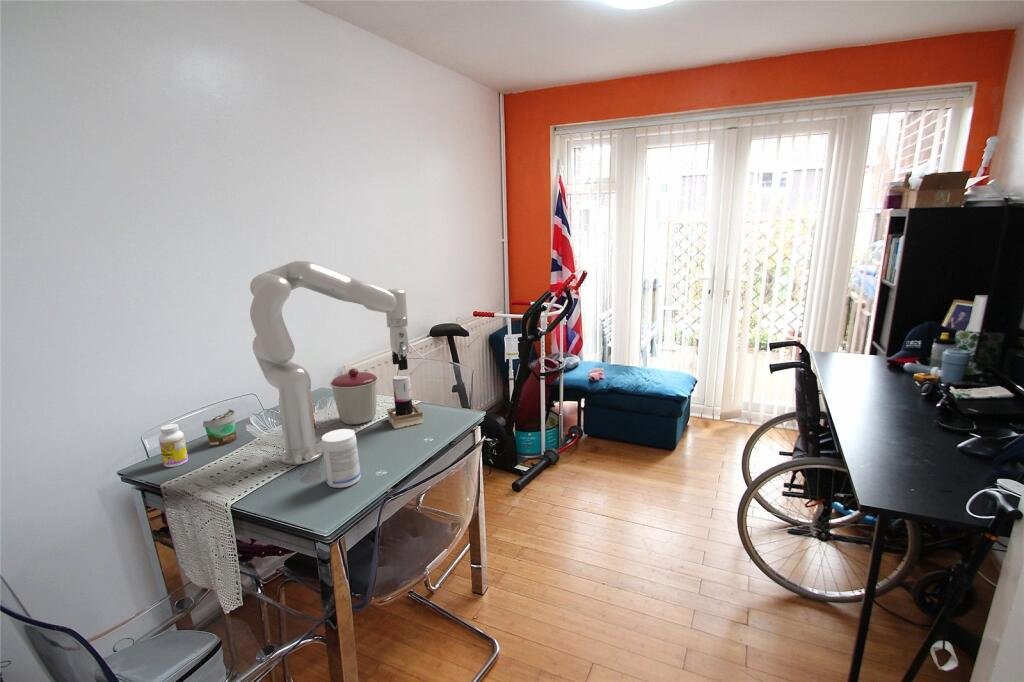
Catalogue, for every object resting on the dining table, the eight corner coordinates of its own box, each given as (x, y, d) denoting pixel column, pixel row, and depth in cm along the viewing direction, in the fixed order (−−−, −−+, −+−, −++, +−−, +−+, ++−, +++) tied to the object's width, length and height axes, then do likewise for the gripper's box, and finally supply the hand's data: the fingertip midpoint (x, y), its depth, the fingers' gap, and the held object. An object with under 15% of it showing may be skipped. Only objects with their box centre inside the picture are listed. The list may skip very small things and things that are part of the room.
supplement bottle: (159, 466, 153) (151, 429, 150) (179, 457, 159) (172, 421, 156) (173, 469, 150) (165, 431, 147) (193, 460, 156) (186, 423, 154)
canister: (386, 410, 196) (381, 361, 192) (376, 427, 179) (371, 374, 174) (341, 412, 195) (336, 363, 191) (328, 430, 178) (321, 376, 173)
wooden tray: (423, 423, 182) (422, 412, 181) (394, 428, 177) (393, 418, 176) (415, 413, 192) (414, 404, 191) (388, 419, 187) (387, 409, 186)
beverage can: (393, 417, 181) (390, 379, 177) (398, 411, 187) (394, 374, 184) (410, 416, 180) (407, 379, 177) (414, 410, 187) (411, 374, 184)
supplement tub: (367, 476, 142) (363, 431, 139) (344, 492, 134) (339, 444, 131) (343, 470, 146) (338, 426, 143) (319, 485, 138) (313, 438, 135)
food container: (222, 449, 164) (217, 422, 161) (207, 448, 165) (202, 421, 163) (248, 435, 175) (244, 409, 173) (233, 434, 177) (229, 408, 174)
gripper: (413, 324, 170) (416, 370, 174) (401, 318, 185) (404, 360, 189) (392, 326, 167) (395, 373, 170) (382, 320, 182) (385, 363, 185)
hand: (400, 366), depth 179 cm, fingers open, 9 cm apart
